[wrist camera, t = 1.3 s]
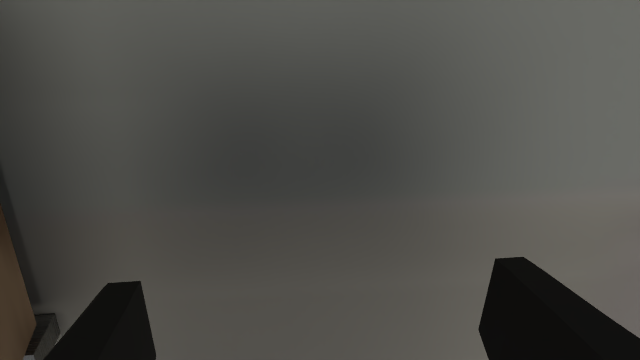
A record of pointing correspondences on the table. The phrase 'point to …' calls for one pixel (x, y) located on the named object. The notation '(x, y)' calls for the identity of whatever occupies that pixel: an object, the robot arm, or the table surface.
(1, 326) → the flip panel
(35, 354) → the grey long block
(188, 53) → the table surface
